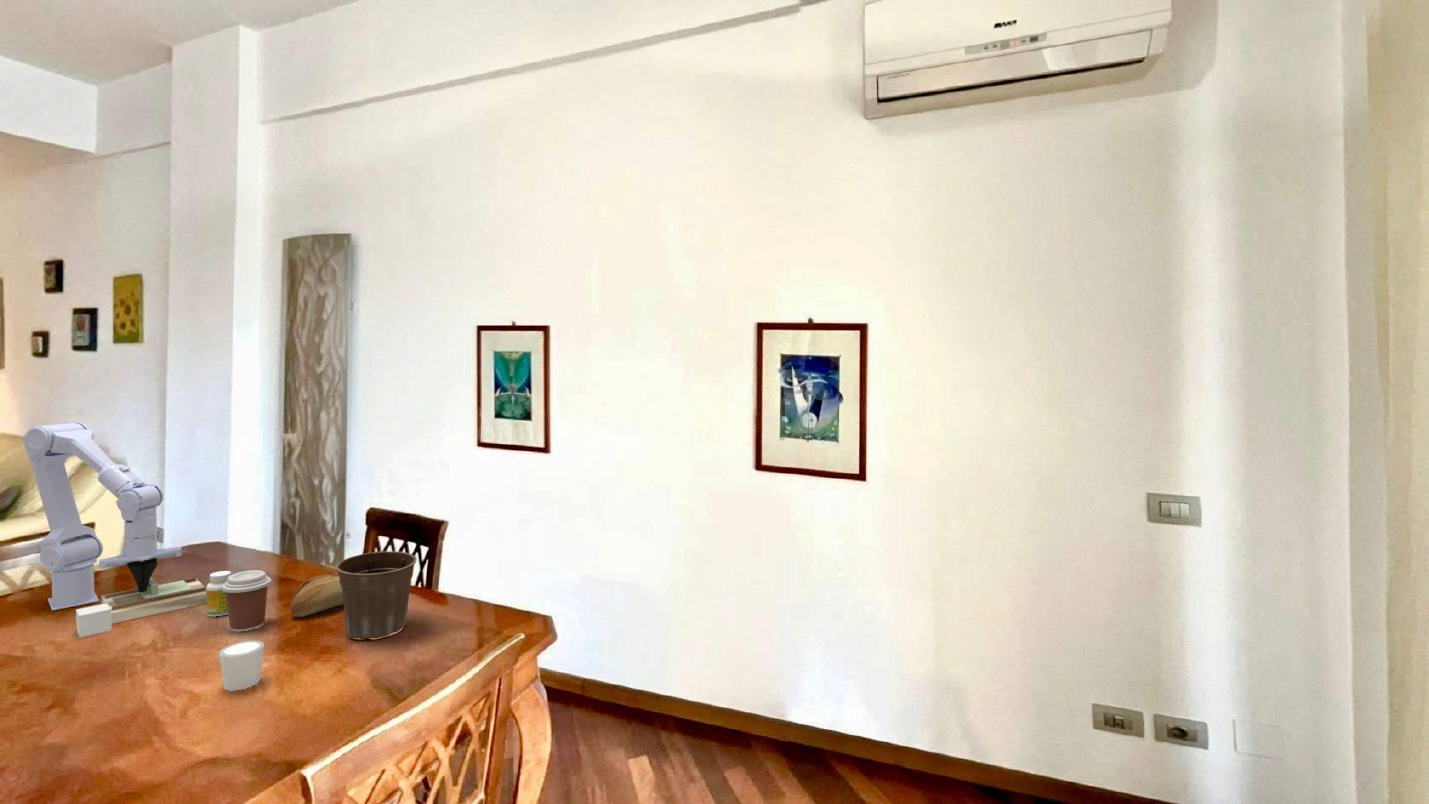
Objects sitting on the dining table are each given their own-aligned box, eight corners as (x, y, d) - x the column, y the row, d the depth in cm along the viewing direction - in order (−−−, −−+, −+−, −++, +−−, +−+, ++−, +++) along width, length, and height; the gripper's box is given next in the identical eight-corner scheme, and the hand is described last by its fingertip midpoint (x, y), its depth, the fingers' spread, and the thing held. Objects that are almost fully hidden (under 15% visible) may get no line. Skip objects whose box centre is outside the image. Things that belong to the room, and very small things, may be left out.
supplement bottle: (219, 618, 147) (218, 578, 146) (200, 616, 148) (200, 576, 147) (240, 609, 152) (240, 570, 151) (222, 607, 153) (222, 568, 152)
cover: (139, 592, 154) (139, 579, 154) (183, 583, 161) (183, 570, 161) (146, 601, 149) (145, 587, 149) (191, 591, 155) (191, 579, 155)
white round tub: (235, 674, 122) (235, 639, 122) (272, 674, 123) (272, 639, 122) (210, 693, 115) (209, 656, 115) (249, 692, 116) (249, 656, 115)
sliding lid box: (101, 606, 151) (100, 592, 151) (195, 587, 165) (195, 574, 165) (111, 624, 142) (111, 609, 142) (210, 602, 156) (210, 589, 156)
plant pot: (431, 624, 147) (432, 557, 146) (368, 652, 133) (368, 578, 132) (385, 611, 154) (385, 547, 153) (320, 636, 140) (319, 565, 139)
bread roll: (278, 616, 149) (278, 584, 149) (337, 596, 163) (337, 566, 162) (305, 624, 146) (305, 591, 145) (363, 602, 159) (363, 572, 159)
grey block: (76, 631, 138) (75, 609, 138) (107, 624, 142) (107, 603, 142) (79, 638, 135) (79, 615, 135) (111, 631, 139) (111, 609, 138)
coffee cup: (232, 638, 137) (231, 585, 136) (215, 627, 142) (214, 576, 141) (279, 624, 145) (278, 573, 144) (261, 614, 150) (260, 565, 149)
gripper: (101, 545, 142) (103, 603, 143) (183, 533, 154) (184, 587, 154) (97, 539, 147) (98, 595, 148) (177, 528, 158) (178, 580, 159)
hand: (142, 591), depth 151 cm, fingers closed
